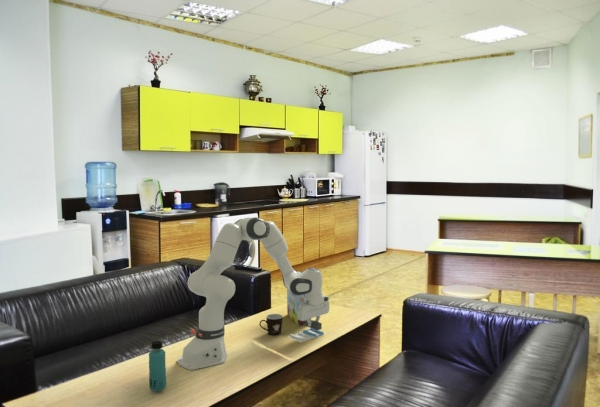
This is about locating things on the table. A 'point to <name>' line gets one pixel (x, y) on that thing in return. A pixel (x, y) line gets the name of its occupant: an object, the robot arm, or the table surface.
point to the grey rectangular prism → (314, 325)
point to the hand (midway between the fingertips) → (313, 325)
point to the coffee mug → (273, 324)
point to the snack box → (294, 306)
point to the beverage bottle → (157, 367)
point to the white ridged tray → (306, 335)
